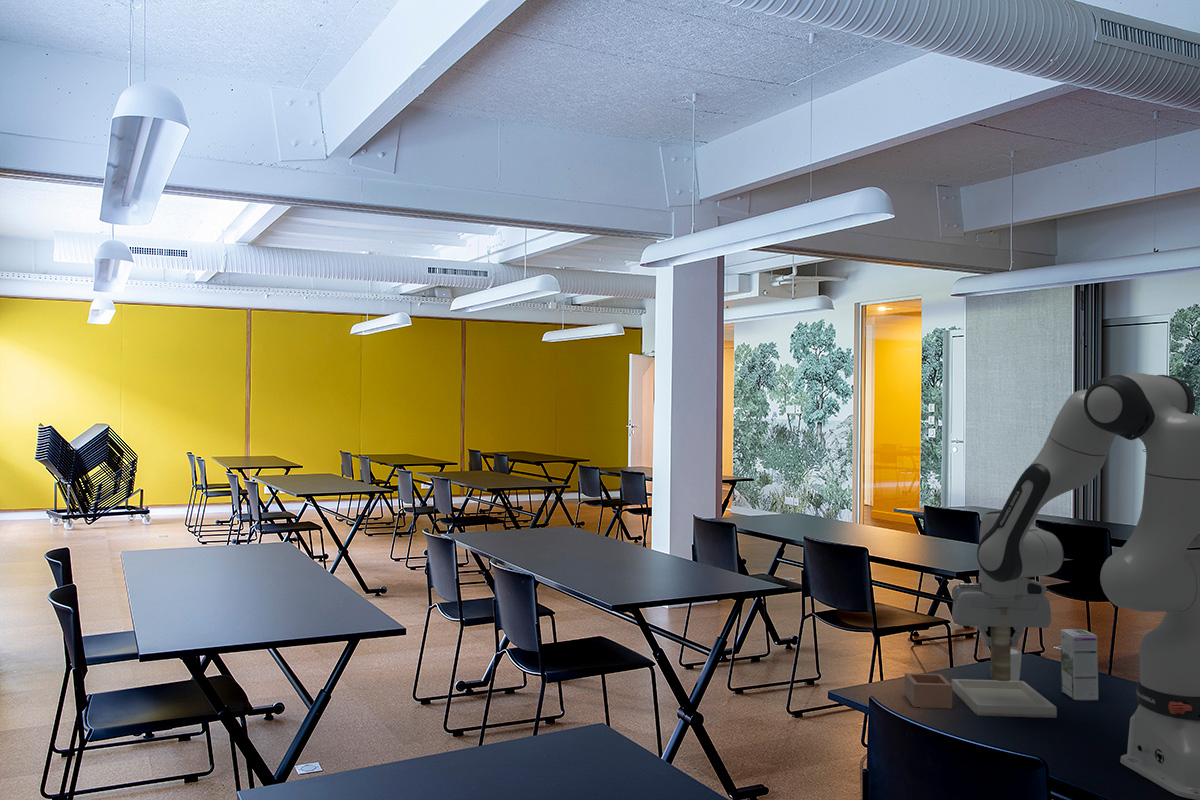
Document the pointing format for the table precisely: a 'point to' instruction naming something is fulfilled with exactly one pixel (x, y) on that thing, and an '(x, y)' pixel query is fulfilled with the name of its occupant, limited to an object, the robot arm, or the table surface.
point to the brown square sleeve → (928, 690)
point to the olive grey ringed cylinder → (1001, 649)
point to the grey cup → (1015, 664)
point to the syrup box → (1079, 664)
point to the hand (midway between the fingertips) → (1000, 646)
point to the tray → (1003, 698)
